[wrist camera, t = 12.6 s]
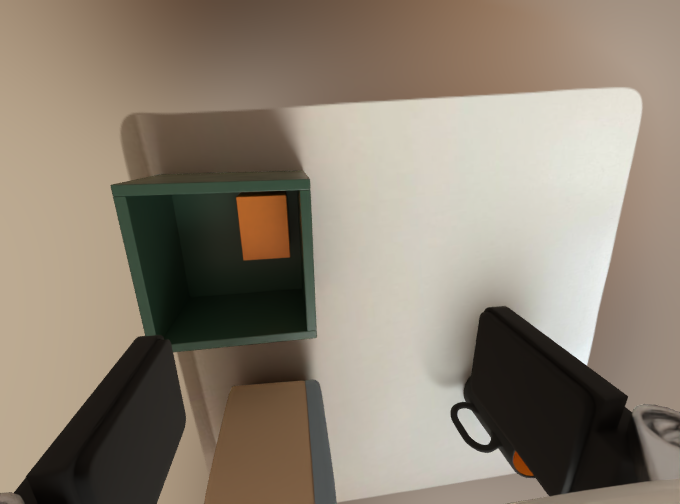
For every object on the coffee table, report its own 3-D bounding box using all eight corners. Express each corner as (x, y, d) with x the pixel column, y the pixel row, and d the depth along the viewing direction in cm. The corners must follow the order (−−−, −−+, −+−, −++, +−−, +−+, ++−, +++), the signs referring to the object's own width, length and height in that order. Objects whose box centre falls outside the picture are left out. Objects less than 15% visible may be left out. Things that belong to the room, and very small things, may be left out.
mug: (438, 373, 44) (481, 438, 34) (519, 357, 45) (583, 414, 35) (438, 420, 46) (479, 493, 37) (515, 403, 48) (574, 469, 38)
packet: (247, 249, 34) (243, 260, 30) (241, 191, 32) (235, 197, 29) (289, 246, 34) (290, 257, 31) (286, 190, 33) (285, 195, 29)
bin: (161, 174, 31) (109, 184, 22) (303, 170, 33) (309, 178, 24) (184, 302, 35) (149, 355, 26) (309, 292, 37) (316, 338, 28)
